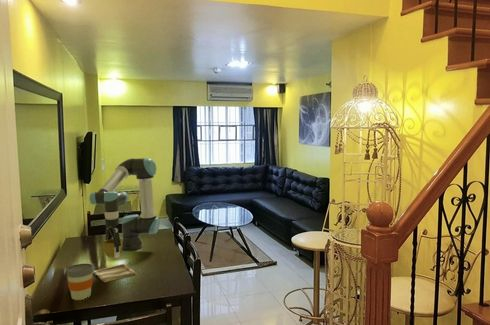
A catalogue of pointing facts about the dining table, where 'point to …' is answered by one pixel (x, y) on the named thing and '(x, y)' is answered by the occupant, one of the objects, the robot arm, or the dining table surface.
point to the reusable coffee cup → (80, 280)
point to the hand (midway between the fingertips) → (113, 254)
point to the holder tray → (114, 272)
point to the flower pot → (110, 247)
